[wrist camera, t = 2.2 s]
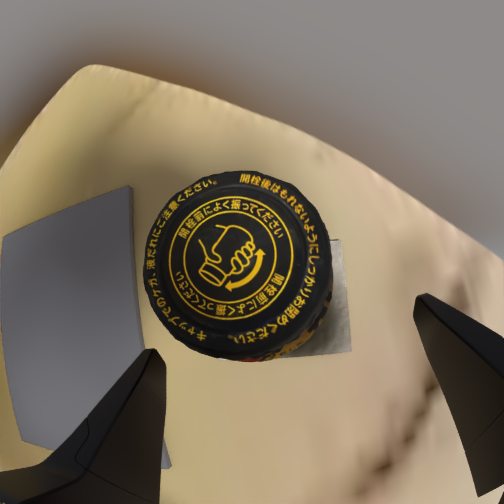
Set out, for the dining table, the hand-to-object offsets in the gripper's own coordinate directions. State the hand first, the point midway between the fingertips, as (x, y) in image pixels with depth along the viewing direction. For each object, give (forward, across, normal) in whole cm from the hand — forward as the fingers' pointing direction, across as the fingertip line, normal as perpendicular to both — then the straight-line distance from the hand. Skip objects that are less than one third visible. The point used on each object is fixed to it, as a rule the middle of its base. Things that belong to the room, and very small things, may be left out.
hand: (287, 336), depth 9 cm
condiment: (+8, 0, +6) cm, 10 cm away
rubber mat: (+8, +19, +5) cm, 21 cm away
